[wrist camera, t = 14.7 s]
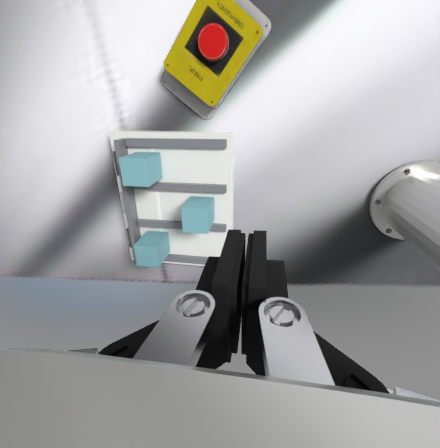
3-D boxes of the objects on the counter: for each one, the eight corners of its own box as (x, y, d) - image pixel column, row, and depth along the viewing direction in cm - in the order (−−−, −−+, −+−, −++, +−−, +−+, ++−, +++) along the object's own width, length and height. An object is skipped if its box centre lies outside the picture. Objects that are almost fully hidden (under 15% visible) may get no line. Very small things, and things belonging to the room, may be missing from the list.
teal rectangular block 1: (160, 152, 40) (145, 158, 35) (162, 177, 41) (149, 186, 36) (136, 152, 40) (118, 158, 35) (139, 176, 42) (123, 185, 37)
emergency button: (276, 15, 29) (203, 124, 36) (274, 25, 33) (208, 122, 40) (213, -46, 28) (148, 79, 34) (219, -27, 32) (160, 82, 38)
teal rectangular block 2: (168, 232, 46) (156, 247, 41) (170, 251, 47) (159, 267, 42) (147, 230, 46) (133, 245, 41) (149, 249, 48) (136, 265, 43)
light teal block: (214, 197, 41) (207, 209, 36) (214, 219, 43) (208, 233, 38) (190, 196, 42) (180, 207, 37) (191, 218, 44) (182, 232, 39)
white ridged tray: (235, 131, 39) (232, 134, 35) (232, 262, 49) (229, 275, 45) (115, 130, 42) (99, 132, 38) (135, 254, 52) (125, 266, 48)
